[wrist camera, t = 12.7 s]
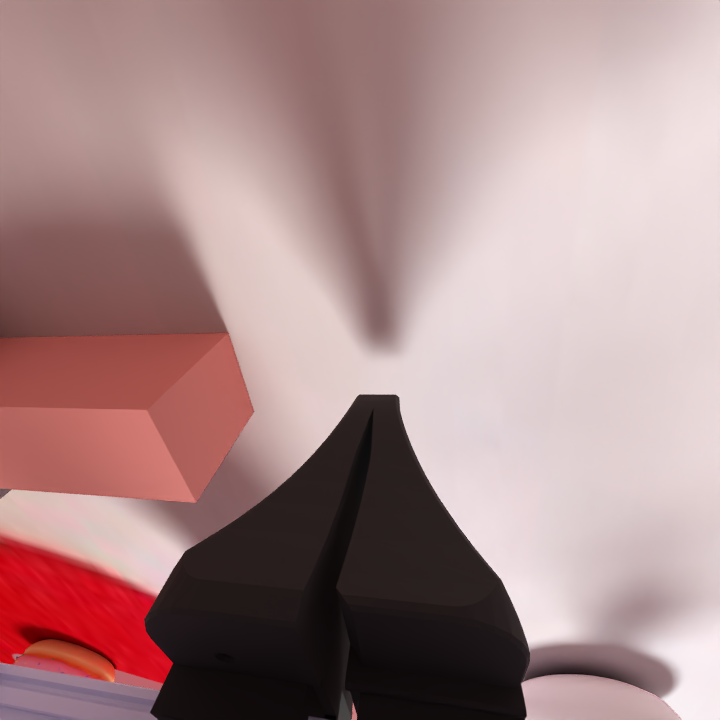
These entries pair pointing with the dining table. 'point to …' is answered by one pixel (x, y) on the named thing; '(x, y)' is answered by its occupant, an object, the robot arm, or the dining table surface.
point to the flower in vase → (591, 699)
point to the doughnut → (66, 660)
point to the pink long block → (119, 413)
